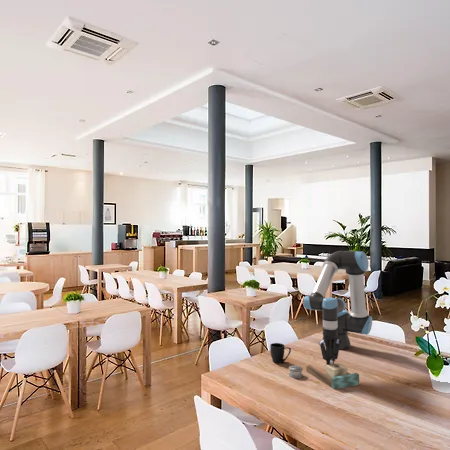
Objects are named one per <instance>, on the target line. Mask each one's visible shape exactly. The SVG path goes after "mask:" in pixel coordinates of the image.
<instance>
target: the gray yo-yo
mask: <svg viewBox="0 0 450 450" xmlns="http://www.w3.org/2000/svg"><path fill="white" fill-rule="evenodd" d="M288 370H289V373H288V377H290V378H292V379H301V378H303V373H302V371H303V370H304V369H303V367H302V366H301V365H289V366H288Z"/></svg>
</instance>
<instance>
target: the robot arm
mask: <svg viewBox="0 0 450 450" xmlns="http://www.w3.org/2000/svg"><path fill="white" fill-rule="evenodd" d="M339 270H344V271H345V274H346V275H347V276H348V283H349V284H348V285H349V297H350V307H351V308H350V311H349V312H348V310H345V309H346V307H347V306H346V302H345V300H344V299H343V298H340V297H336V298H335V297H325V296H326V294H327V293H328V290H329V287H330V286H331V283H332V280H333V279H334V276H335V274H336V273H337V272H338V271H339ZM368 270H369V260H368V256H367V254H366V253H365V252H364V251H358V250H337V251H335V252H333V253H331V254H330V255H328V256H327V257H326V258H325V260H324V261H323V263H322V269H321V272H320V274H319V276H318V278H317V281H316V283H315V285H314V286H313V289H312V291H311V293H310V295H305V296H304V298H303V302H302V304H303V307H304V309H307V310H311V311H319V312H320V311H321V312H322V340H321V341H318V345H319V346H320V347H319V348H320V351H321V355H322V359H323V360H325V361H326V365H329V364H335V362H336V360H338V358H339V352H340V350H348V349H350V348H351V341H350V337H349V334H348V332H349V333H353V334H354V333H355V334H360V335H369V334H370V332H371V330H372V327H373V317H372V316H371V315H370V313H369V311H368V310H367V308H366V295H365V282H364V275H365V274H366V271H368ZM326 365H325V366H326Z"/></svg>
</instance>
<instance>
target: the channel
mask: <svg viewBox="0 0 450 450" xmlns="http://www.w3.org/2000/svg"><path fill="white" fill-rule="evenodd" d="M305 369H306V370H305V371H306V372H307V373H308V374H311V375H312V376H313V377H315V378H316V379H318V380H319V381H320V382H322V383H324V384H325V385H327V386H328V387H330V388H331V389H333V390H338V389H343V388H349V387H353V386H359V385H360V374H359V373H358V372H355V373H350V372H348V371H347V375H342V376H336V377H331V378H330V377H328V376H326V373H325V374H324V373H323V372H321V371H319V369H317V368H315V367H313V366H311V365H310V364H308V365H306V366H305Z"/></svg>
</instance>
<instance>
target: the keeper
mask: <svg viewBox="0 0 450 450" xmlns="http://www.w3.org/2000/svg"><path fill="white" fill-rule="evenodd" d="M347 372H348V367H346V366H345V365H343V364H341V363H338V362H337V363H336V362H335V363H334V364H329V365H325V375H326V376H328V377H330V378H331V377H336V376H342V375H347Z"/></svg>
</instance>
